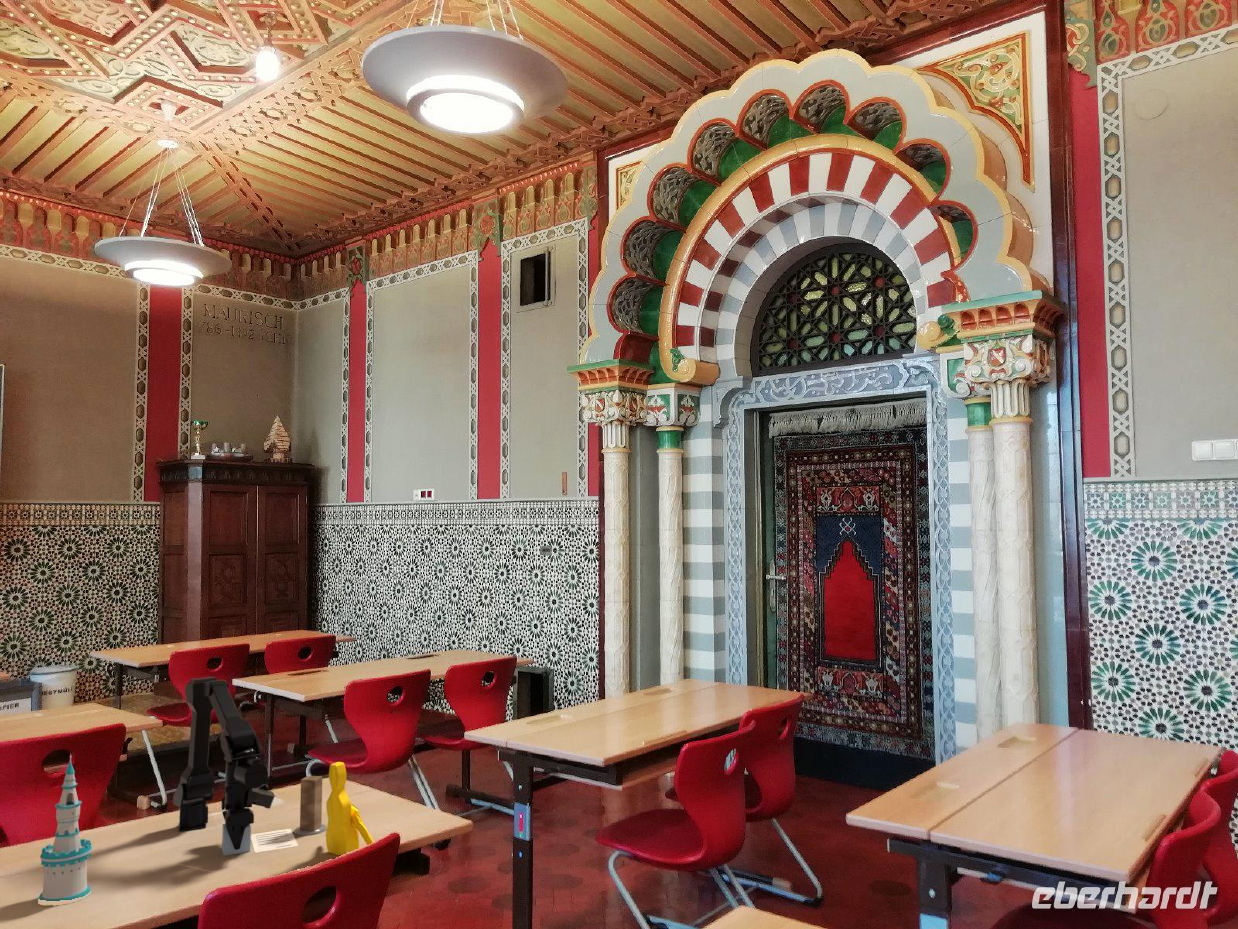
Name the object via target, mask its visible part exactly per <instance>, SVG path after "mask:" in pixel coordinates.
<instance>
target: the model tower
mask: <svg viewBox="0 0 1238 929" xmlns="http://www.w3.org/2000/svg"><path fill="white" fill-rule="evenodd" d="M75 773H76V771H75V769H74V767H73V765H72V754H70V755H69V763H68V766H67V768H66V770H65V773H64V774H65V776H64V779H63V784H62V785H61V786H60V787H61V788H62V789H63V790H62V792H61V796H60V799H59V802H58V803H56V804H55V805H54V807H55V808H56V809H55V810H56V812H55V813H56V814H55V818H56V823H57V826H56V832H55V834H54V841H53V844H47V845H46V846H45V847H42V848H41V853H40V856H39V859H40V861H41V862H40V864H41V865H42V866H43V869H44V874H43V886H42V892H41V893H40V894H39V896H38V898H39V899H40V900H46V901H60V900H72V899H75V898H79V897H83V896H85V895H86V894H88V893H89V892H90V890H91V887H90V885H89V884H88V882H87V875H88V873H87V872H88V871H87V868H88V867H87V865H88V859H89V858H90V857H91V853H92V852H93V846H92V841H91V840H90V839H86V838H80V831H81V830H79V819H80V814H81V805H82V800H79V798H78V794H77V790H76V787H77V785H78V782H76V777H75ZM91 891H92V890H91Z"/></svg>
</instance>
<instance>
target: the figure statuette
mask: <svg viewBox="0 0 1238 929" xmlns="http://www.w3.org/2000/svg"><path fill="white" fill-rule="evenodd" d="M347 779H348V778H347V770H346V765H345V763H344V762H342V761H337V762H334V763H331V764H330V765H329V769H328V781H329V784H330V787H331V792H330V794H329V796H328V797H327V798H328V799H327V800H326V804H325V805H326V814H327V825H326V827H327V829H326V831H325V842H326V843H325V844H326V849H327V852H328V853H330V854H333V855H336V856H339V855H343V854H346V853H347V852H351V851H353V850H355V849H359V850H360V837H359V834H360V836H361V838H362V839H363V840H364V842H365V843H366V846H367V845H369V844H371V843H373V842H374V840H373V838H372V836H371V834H370V833H369V831H368V829H367V828H366V826H365V823H364V822H363V820H362V818H361V815H360V810H359V808H358V807H356V806H355V805H354V804H353V803H352V802H351V800H350V798H349V796H348V793H347V791H346V782H347ZM374 843H375V842H374Z"/></svg>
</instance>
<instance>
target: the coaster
mask: <svg viewBox="0 0 1238 929" xmlns="http://www.w3.org/2000/svg"><path fill="white" fill-rule="evenodd" d="M326 829H327V825H326V824H321V827H320V828H319V829H317V830H316V831H300V826H297V827H296V828H295V829H294V832H293V833H294V834H295V835H297V836H314V835H319V834H322V833H324V832H326Z"/></svg>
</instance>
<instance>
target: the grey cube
mask: <svg viewBox="0 0 1238 929" xmlns="http://www.w3.org/2000/svg"><path fill="white" fill-rule="evenodd" d="M251 826H252V825H251V824H249V825H248V826H247V827H246V828H245V831H244V834H243V838H242V842H241V846H240V849H238V850H235V849H234V846H233V844H232V841H231V838H230V836H229V833H228V831H227V828H226V826H225V823H223V824H222V834H221V835H222V836H221V837H222V838H221V850H222V855H225V856H230V855H237V854H242V853H243V854H244V853H250V852H251V843H252V841H251V835H252V833H251V832H252V827H251Z"/></svg>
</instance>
